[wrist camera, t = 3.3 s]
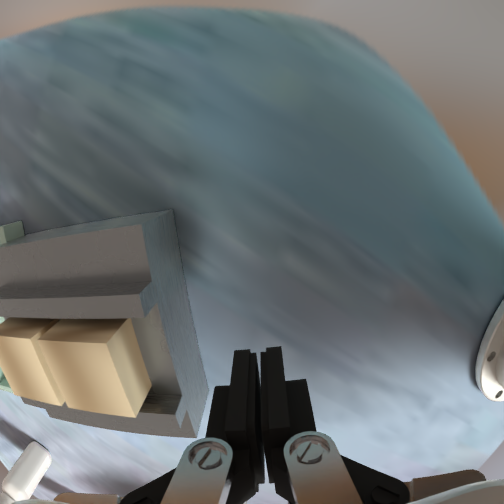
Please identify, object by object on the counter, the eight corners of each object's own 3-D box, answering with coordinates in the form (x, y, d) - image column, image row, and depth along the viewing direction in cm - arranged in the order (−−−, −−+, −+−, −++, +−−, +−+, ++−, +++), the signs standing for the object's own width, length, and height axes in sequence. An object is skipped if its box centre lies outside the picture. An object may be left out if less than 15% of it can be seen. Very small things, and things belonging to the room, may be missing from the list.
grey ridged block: (173, 209, 16) (125, 231, 11) (209, 390, 20) (191, 457, 14) (29, 233, 17) (-33, 258, 12) (77, 382, 20) (40, 430, 15)
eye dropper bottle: (64, 465, 25) (24, 535, 13) (42, 464, 26) (4, 525, 14) (39, 439, 24) (-8, 509, 12) (19, 440, 25) (-25, 500, 13)
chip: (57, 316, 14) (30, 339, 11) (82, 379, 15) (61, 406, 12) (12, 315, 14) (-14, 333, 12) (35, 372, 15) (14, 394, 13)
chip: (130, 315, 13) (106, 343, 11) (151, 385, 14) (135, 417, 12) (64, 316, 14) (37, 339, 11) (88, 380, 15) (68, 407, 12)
